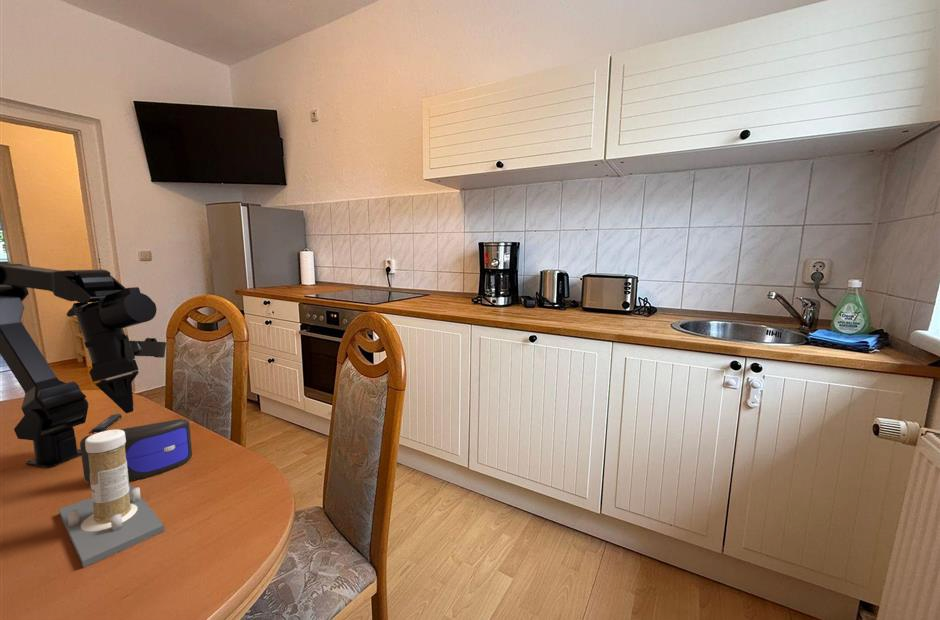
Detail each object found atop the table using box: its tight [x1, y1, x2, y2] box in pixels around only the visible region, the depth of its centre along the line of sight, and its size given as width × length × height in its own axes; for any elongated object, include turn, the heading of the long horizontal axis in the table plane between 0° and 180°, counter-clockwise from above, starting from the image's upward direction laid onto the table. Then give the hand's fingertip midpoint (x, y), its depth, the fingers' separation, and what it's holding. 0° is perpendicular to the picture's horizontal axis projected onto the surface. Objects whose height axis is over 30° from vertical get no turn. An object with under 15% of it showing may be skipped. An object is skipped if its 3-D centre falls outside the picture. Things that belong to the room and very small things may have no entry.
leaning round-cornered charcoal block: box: [79, 418, 193, 484], centre depth 74 cm, size 16×5×9 cm, turn 123°
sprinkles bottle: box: [85, 429, 131, 523], centre depth 61 cm, size 5×5×14 cm
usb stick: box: [91, 413, 123, 434], centre depth 96 cm, size 10×3×2 cm, turn 20°
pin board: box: [58, 483, 166, 569], centre depth 61 cm, size 18×9×3 cm, turn 54°
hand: (130, 409), depth 75 cm, fingers open, 9 cm apart
